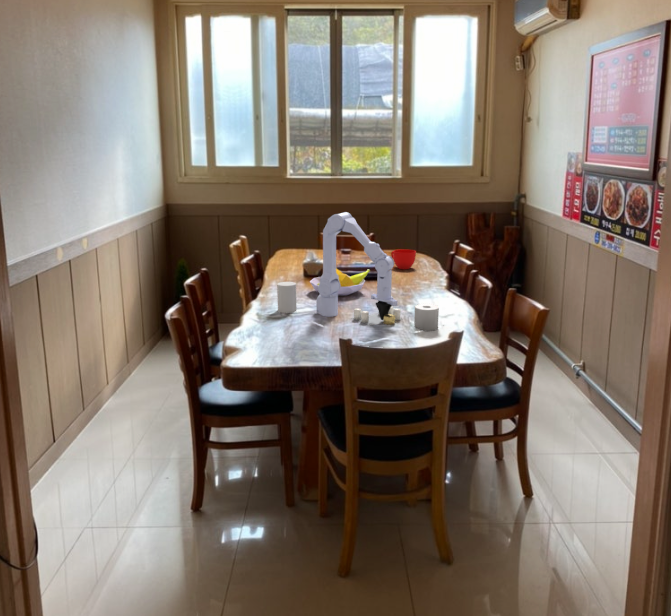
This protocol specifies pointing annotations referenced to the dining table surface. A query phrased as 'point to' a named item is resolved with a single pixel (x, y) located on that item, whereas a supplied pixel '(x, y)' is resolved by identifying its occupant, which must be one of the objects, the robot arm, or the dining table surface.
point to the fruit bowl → (345, 282)
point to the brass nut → (389, 319)
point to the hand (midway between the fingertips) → (383, 319)
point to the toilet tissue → (426, 317)
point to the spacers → (365, 314)
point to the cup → (286, 297)
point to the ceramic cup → (403, 258)
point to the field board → (373, 320)
